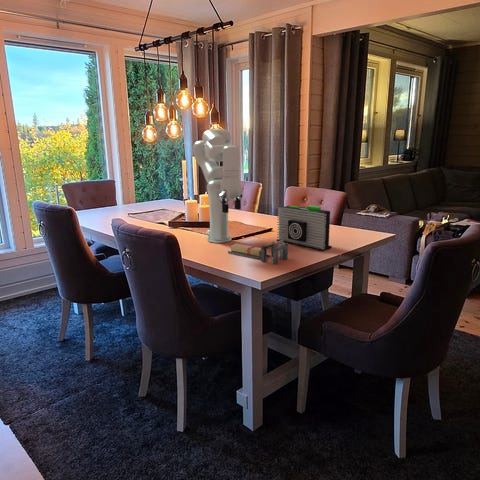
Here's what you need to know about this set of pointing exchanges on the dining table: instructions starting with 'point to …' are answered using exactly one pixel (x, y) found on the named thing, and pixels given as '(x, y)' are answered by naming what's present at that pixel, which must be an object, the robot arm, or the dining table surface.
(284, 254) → the collar rig
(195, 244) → the dining table surface
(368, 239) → the dining table surface
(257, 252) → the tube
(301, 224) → the electronic device
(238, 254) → the guide
